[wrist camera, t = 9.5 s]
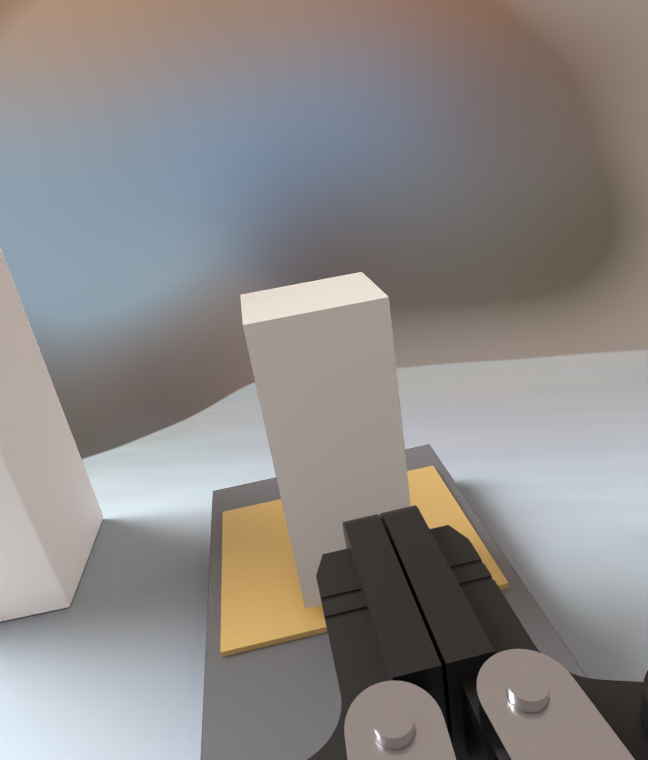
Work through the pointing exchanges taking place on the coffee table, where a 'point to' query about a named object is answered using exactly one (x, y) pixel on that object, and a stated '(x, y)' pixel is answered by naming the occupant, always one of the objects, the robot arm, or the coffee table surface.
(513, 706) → the robot arm
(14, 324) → the milk
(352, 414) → the block
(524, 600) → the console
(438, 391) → the coffee table surface
